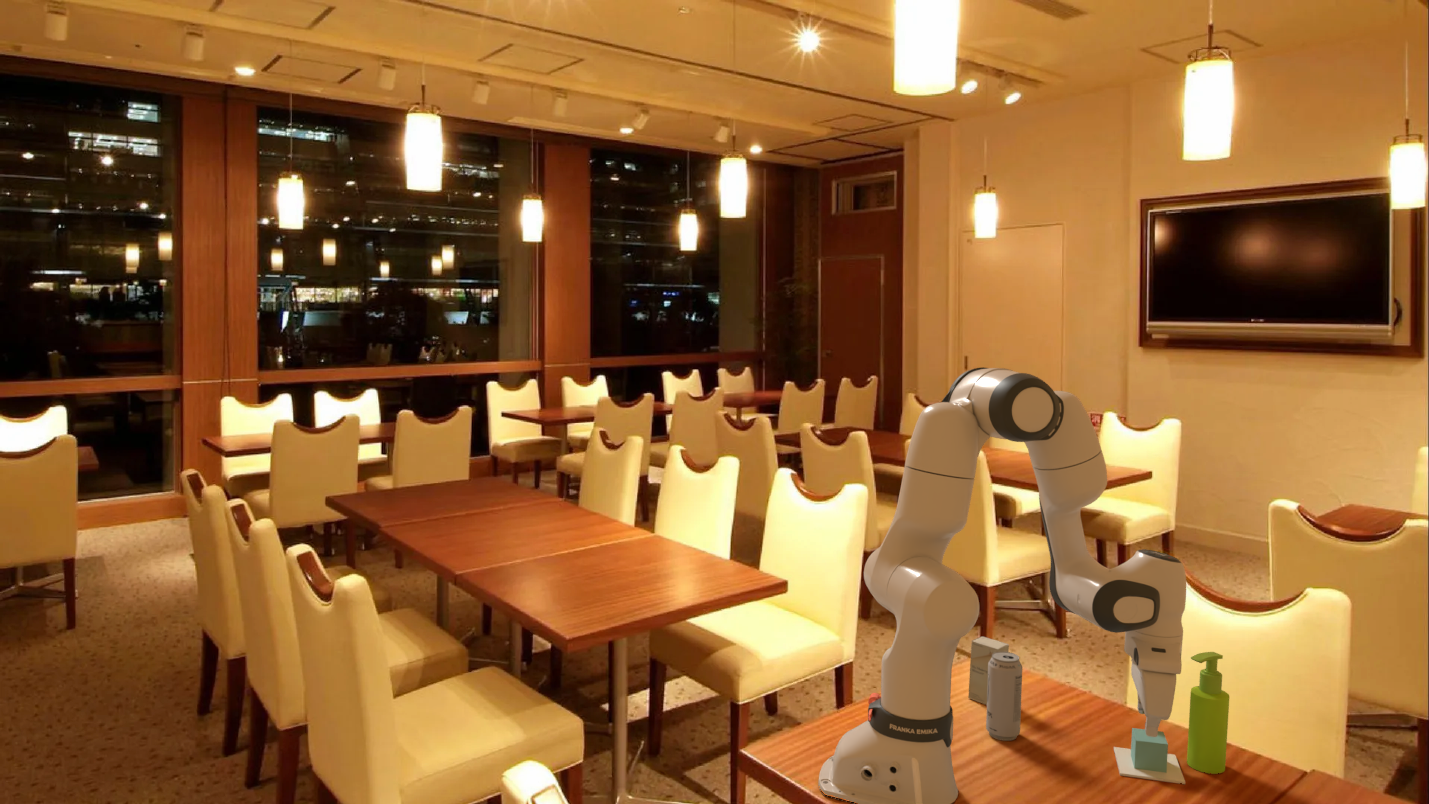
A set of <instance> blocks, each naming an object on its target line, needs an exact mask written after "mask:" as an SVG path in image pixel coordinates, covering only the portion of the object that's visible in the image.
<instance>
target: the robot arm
mask: <svg viewBox="0 0 1429 804" xmlns="http://www.w3.org/2000/svg"><path fill="white" fill-rule="evenodd" d="M910 437H911V438H910V441H909V445H908V448H907V453H906V458H905V462H904V468H903V472H902V473H903V474H902V478H901V485H900V490H899V495H898V499H897V506H896V508H895V513H894V515H893V517H892V518H893V519H892V520H891V523H890V525H889V528H888V529H887V531H886V534H885V537H884V538H883V541H882V542H881V544H880V545H879V547H877V548H876V549H875V550H874V551H873V552H872V553H871V554H870V555H869V556H868V558H867V560H866V562H865V564H864V568H863V579H864V583H865V585H866V587H867V589H868V591H869V592H870V594H871V595H872V596H873V598H874V599H875V601H876V602H877V603H878V604H879V605H880V606H882V607H883V608H884V609H886V610H888V611H889V612H890V613H892V614H893V615H894V618H895V621H896V631H895V634H894V635H895V636H894V638H893V642H892V645H891V647H889V648H888V649H886V650H885V652H884V654H883V655H882V657H881V658H882V659H881V676H880V677H881V682H880V684H881V685H880V693H878V692H873V693H871V694H870V695H869V698H868V701H867V703H868V709H867V720H866V721H864V722H862V723H861V724H859V725H857V726H856V727H854V728H851V729H850V730H848V731H846V732H845V733H844V734H843V735H842V737H841V738H840V740H839V741H838V743H837V745H836V747H835V751H834V753H833V755H832V756H830V757H829V758H828V759H827V760H825V761H824V762H823V764H822V766H821V767H820V771H819V775H818V787H819V786H820V788H819V790H820V789H821V790H822V791H823V792H824V793H825V794H827V795H833V796H835V797H838V798H843V799H846V800H849V801H852V802H856V803H858V804H953V803H954V802H955V801H956V799H957V798H958V795H959V789H958V787H957V782H956V779H955V775H954V774H955V773H954V765H953V760H952V750H951V747H952V746H951V745H952V742H953V738H954V737H953V736H954V716H953V715H954V714H953V707H952V706H951V690H952V669H953V663H954V659H955V654H956V651H957V649H958V645H959V643H960V640H961V638H963V637H965V636H966V635H968V634H969V633H970V631H971V630H973V628H974V626H975V625H976V622H977V620H978V618H979V615H980V602H979V601H980V600H979V597H978V595H977V593H976V591H975V589H974V588H973V587H972V586H971V584H969V582H968V581H967V580H966V579H965V578H964V577H963V576H962V574H960V573H958V572H957V571H956V570H955V569H953V568H951V567H949V566H947V565H945V564H943V559H944V556H945V553H946V550H947V548H948V546H949V544H950V542H951V541H952V539H953V538H954V537H955V535H956V534H958V533H960V532H961V531H962V530H963V529H964V527H965V526H966V525H967V522H968V518H969V513H970V511H969V510H970V506H971V499H972V496H973V495H972V494H973V488H974V483H975V478H976V473H977V467H978V466H977V465H978V458H979V455H980V453H981V450H982V448H983V447H984V445H985V443H986V442H987V441H988V440H989V439H990V437H991V438H995V439H1000V440H1008V441H1011V442H1015V443H1024V444H1025V446H1026V448H1027V450H1028V451H1027V452H1028V455H1029V460H1030V463H1031V466H1032V469H1033V473H1034V477H1035V479H1036V484H1037V487H1038V500H1039V507H1040V514H1041V518H1042V522H1043V529H1044V533H1045V538H1046V542H1047V543H1046V544H1047V546H1048V552H1049V556H1050V557H1049V559H1050V571H1049V579H1048V580H1049V581H1048V583H1049V585H1048V586H1049V592H1050V595H1051V597H1052V599H1053V601H1054V602H1055V604H1057V605H1058V607H1059V608H1061V609H1063V610H1064V611H1067V612H1070V613H1071V614H1075V615H1077V616H1078V617H1081V618H1082V619H1084V620H1086V621H1088V622H1089V623H1091V624H1093V625H1095V626H1097V627H1098V628H1100V629H1102V630H1104V631H1107V632H1111V633H1114V634H1115V633H1117V634H1118V633H1125V635H1124V650H1123V651H1124V652H1125V654H1127V656H1129V657H1130V658H1131V660H1130V661H1131V667H1130V669H1131V670H1130V671H1131V673H1130V674H1131V677H1132V681H1133V682H1134V683H1133V684H1134V686H1135V689H1136V694H1137V711H1138V713H1139V714H1140V715H1144V716H1145V717H1146V719H1145V723H1144V729H1145V732H1146V735H1147V736H1150V737H1157V735H1158V731H1159V726H1160V724H1161V721H1168V720H1169V719H1170V717H1171V713H1172V711H1173V705H1174V700H1175V694H1176V685H1177V675H1180V674H1181V673H1182V651H1183V639H1184V627H1183V623H1182V618H1183V614H1184V611H1186V604H1187V603H1186V602H1187V600H1186V599H1187V576H1186V569H1185V566H1184V564H1183V562H1181V559H1178V558H1176V557H1174V556H1172V555H1170V554H1168V553H1163V552H1161V551H1156V550H1153V549H1147V548H1146V549H1145V548H1144V549H1143V548H1142V549H1137V550H1136V551H1135V553H1134V555H1133V556H1132V557H1130V558H1129V559H1127V560H1126V561H1125V562H1123V563H1121V564H1119V565H1117V566H1115V567H1112V568H1108V567H1106V566H1104V565H1103V564H1101V563H1099V562H1098V561H1097V560H1096V559H1095V558H1094V557H1093V556H1092V555H1091V553H1090V552H1089V550H1088V546H1087V542H1086V537H1085V533H1084V527H1083V522H1082V517H1081V510H1082V508H1085V507H1087V506H1089V505H1091V504H1092V503H1094V502H1096V501H1097V500H1098V499H1099V498H1100V497H1101V496H1102V494H1103V493H1104V492H1105V490H1106V487H1107V485H1108V471H1107V464H1106V460H1105V457H1104V454H1103V453H1104V452H1103V451H1102V447H1101V443H1100V440H1099V438H1098V435H1097V432H1096V430H1095V428H1094V424H1093V423H1092V419H1091V418H1090V416H1089V414H1088V412H1087V410H1086V408H1085V406H1084V405H1083V403H1082V401H1081V400H1080V398H1079V397H1078V396H1077V395H1075V394H1074V393H1071V392H1069V391H1064V390H1054V389H1053V388H1052V387H1051V386H1050V385H1049V384H1048V383H1047V382H1045V381H1044V380H1043V379H1041V378H1040V377H1038V376H1035V375H1033V374H1030V373H1027V372H1018V371H1015V370H1012V369H1009V368H1004V367H1001V368H1000V367H975V368H972V369H969V370H966V371H964V372H963V373H961V374H960V375H959V376H958V377H957V378H956V379H955V380H954V381H953V383H952V384H951V386H950V387H949V389H948V393H946V395H945V396H944V398H942V401H941V402H936V403H932V404H930V405H928V406H926V407H924V408H923V410H922V411H921V412H920V414H919V416H918V418H917V421H916V423H915V426H914V429H913V432H912V435H911V436H910ZM821 790H820V791H821Z"/></svg>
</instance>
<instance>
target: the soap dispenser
mask: <svg viewBox="0 0 1429 804" xmlns="http://www.w3.org/2000/svg"><path fill="white" fill-rule="evenodd" d="M1223 657H1224V655H1222V654H1220V653H1217V652H1215V651H1206V652H1200V653H1197V654H1195V655H1193V656H1191V657H1190V659H1191V661H1194V662H1196V663H1199V664H1202V663H1205V668H1203V669H1201V670H1200V671H1199V681H1198V682H1199V685H1196V686H1193V687H1191V689H1190V697H1189V718H1188V732H1187V733H1188V735H1187V751H1186V752H1187V753H1186V755H1187V756H1186V763H1187V766H1189V767H1190V768H1192V769H1194V770H1196V771H1198V772H1200V773H1204V772H1205V774H1210V773H1211V775H1212V774H1213V775H1215V774H1217V775H1218V773H1219V774H1223V773H1224V772H1225V771H1226V760H1227V743H1228V727H1229V725H1228V724H1229V713H1230V712H1229V710H1230V709H1229V707H1230V694H1229V693H1228V692H1226V691H1224V690H1223V689H1222V687H1223V674H1222V672H1220V671H1218V660H1223Z"/></svg>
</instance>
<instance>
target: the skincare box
mask: <svg viewBox="0 0 1429 804" xmlns="http://www.w3.org/2000/svg"><path fill="white" fill-rule="evenodd" d="M970 647H971V648H970V665H969V678H968V679H969V681H968V682H969V683H968V696H967V697H968V699H970V700H972V701H975V702H978V703H980V704H983V705H985V706H987V686H988V663H989V661H990V659H991V658H992V654H993V653H995V652H1009V647H1010V644H1009V643H1006V642H1003V641H999V640H997V639H993V638H989V637H986V636H984V635H983V636H982V635H981V636H979V637H977V638H974V639H973V640H971V646H970Z"/></svg>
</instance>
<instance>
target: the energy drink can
mask: <svg viewBox="0 0 1429 804" xmlns="http://www.w3.org/2000/svg"><path fill="white" fill-rule="evenodd" d="M1022 688H1023V664H1022V663H1021V661H1020V656H1019V655H1018V654H1016V653H1012V652H1009V651H1008V652H995V653H993V654H992V658H991V659H990V661H989V663H988V686H987V705H986V720H985V722H986V724H985V726H986V727H985V729H986V730H987V732H988V734H989V736H990V737H991V738H993V739H996V740H998V741H1004V742H1007V741H1010V742H1011V741H1015V740H1016V739H1017V736H1019V735H1020V733H1021V721H1022V720H1021V719H1022V717H1021V716H1022V715H1021V713H1022Z"/></svg>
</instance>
